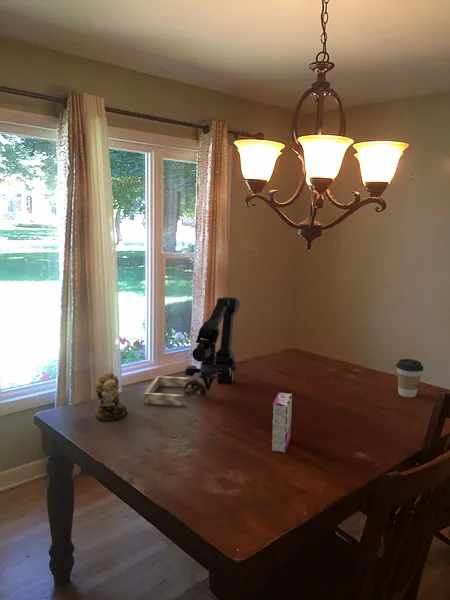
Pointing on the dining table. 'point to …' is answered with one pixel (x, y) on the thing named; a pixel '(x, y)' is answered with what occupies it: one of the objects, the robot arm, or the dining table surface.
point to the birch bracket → (165, 399)
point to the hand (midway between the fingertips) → (208, 390)
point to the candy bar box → (281, 422)
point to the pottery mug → (194, 388)
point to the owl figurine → (109, 399)
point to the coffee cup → (408, 376)
